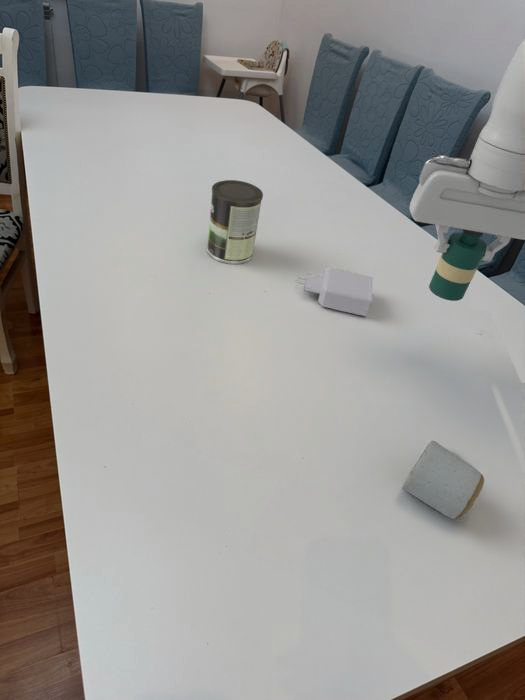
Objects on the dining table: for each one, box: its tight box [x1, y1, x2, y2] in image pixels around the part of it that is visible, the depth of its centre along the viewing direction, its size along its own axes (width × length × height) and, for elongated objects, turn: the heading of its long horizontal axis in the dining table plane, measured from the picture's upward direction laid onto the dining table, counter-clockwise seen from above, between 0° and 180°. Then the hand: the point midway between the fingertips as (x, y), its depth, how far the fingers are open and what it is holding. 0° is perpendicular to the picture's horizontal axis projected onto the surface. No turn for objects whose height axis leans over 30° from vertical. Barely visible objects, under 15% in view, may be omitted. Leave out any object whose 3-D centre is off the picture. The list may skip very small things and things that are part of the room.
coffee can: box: [206, 179, 264, 265], centre depth 104 cm, size 10×10×14 cm
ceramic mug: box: [401, 440, 485, 520], centre depth 66 cm, size 11×8×8 cm
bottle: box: [428, 229, 488, 302], centre depth 77 cm, size 6×6×12 cm
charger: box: [294, 267, 373, 317], centre depth 99 cm, size 5×9×15 cm
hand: (462, 255), depth 76 cm, fingers closed on bottle, 5 cm apart
